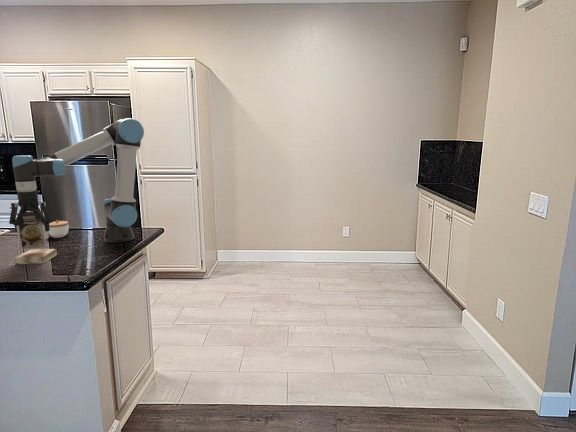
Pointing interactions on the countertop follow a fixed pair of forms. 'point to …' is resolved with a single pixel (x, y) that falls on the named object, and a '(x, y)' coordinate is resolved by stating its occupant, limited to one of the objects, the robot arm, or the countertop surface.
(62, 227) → the lidded jar
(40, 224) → the coffee box
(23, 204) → the robot arm
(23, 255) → the base block
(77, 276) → the countertop surface
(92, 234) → the countertop surface
